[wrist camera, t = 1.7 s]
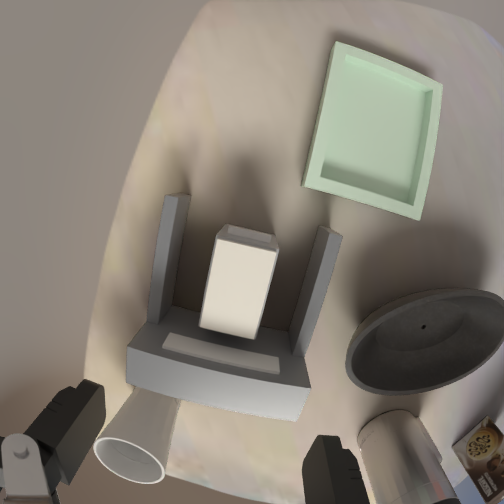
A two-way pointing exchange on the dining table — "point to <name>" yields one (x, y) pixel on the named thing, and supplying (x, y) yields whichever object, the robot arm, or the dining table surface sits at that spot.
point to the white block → (238, 281)
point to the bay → (225, 337)
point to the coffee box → (484, 459)
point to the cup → (139, 437)
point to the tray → (374, 132)
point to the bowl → (425, 341)
